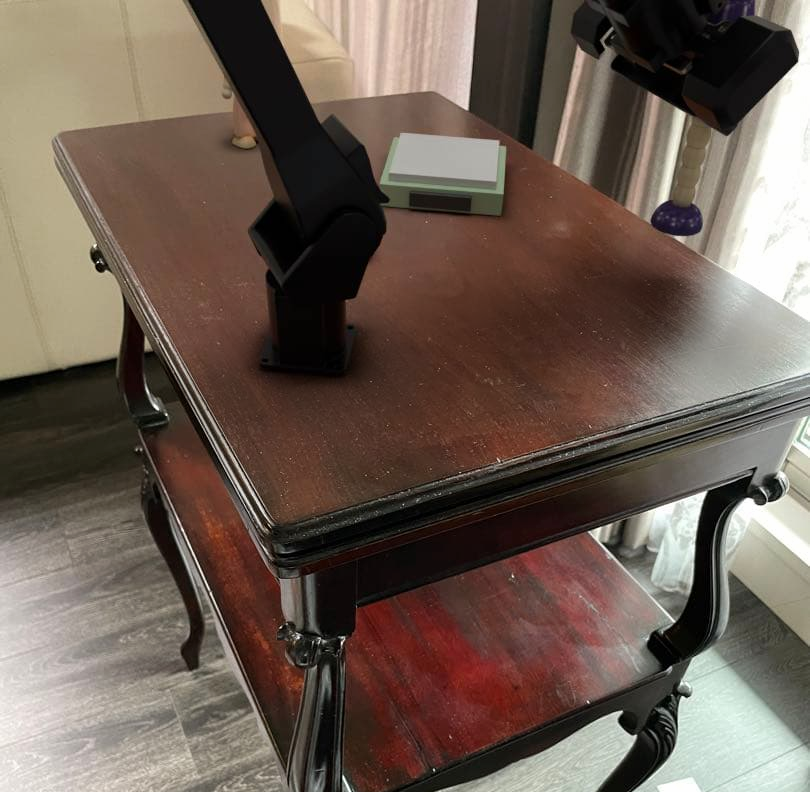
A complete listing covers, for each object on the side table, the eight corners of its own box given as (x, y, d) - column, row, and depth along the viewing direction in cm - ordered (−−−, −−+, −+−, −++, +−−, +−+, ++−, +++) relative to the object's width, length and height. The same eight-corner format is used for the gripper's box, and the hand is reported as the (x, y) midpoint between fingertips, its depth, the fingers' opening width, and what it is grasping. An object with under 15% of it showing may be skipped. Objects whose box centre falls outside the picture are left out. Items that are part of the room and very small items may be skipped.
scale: (500, 218, 81) (504, 187, 79) (378, 208, 82) (378, 177, 80) (503, 167, 90) (507, 138, 88) (393, 158, 91) (393, 128, 88)
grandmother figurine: (257, 154, 90) (245, 19, 81) (223, 150, 90) (207, 15, 81) (279, 128, 95) (270, -1, 86) (246, 124, 96) (234, -5, 87)
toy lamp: (669, 242, 68) (737, 4, 56) (631, 218, 71) (688, -14, 59) (712, 231, 70) (786, -3, 58) (673, 208, 72) (736, -19, 60)
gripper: (839, -135, 45) (895, 73, 57) (642, -179, 57) (721, 0, 68) (679, 38, 48) (762, 202, 60) (524, -37, 60) (617, 112, 72)
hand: (714, 121), depth 65 cm, fingers closed on toy lamp, 4 cm apart
